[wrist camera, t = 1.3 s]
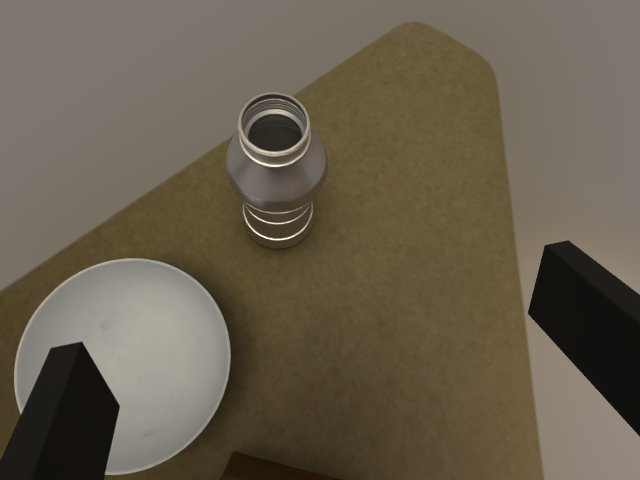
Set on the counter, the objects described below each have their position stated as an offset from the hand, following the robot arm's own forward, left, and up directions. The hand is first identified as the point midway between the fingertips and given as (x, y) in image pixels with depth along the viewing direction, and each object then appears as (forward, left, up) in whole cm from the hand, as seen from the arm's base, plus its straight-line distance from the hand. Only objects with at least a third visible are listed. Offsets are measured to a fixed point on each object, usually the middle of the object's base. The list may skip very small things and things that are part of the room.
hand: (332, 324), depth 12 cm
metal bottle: (-5, +9, -28) cm, 30 cm away
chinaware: (-12, -6, -28) cm, 31 cm away
